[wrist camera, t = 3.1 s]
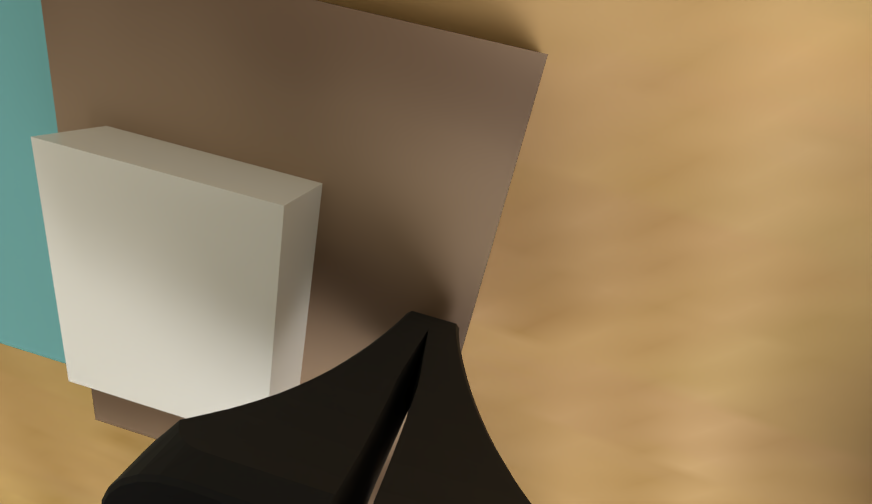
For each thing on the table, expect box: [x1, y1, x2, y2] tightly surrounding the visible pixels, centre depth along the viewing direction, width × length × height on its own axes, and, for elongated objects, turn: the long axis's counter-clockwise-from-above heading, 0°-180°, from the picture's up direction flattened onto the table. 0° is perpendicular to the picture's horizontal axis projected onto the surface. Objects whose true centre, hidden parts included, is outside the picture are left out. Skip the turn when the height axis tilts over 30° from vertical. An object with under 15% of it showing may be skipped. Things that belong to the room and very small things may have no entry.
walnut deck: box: [41, 0, 548, 504], centre depth 14 cm, size 15×12×2 cm
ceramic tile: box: [31, 126, 323, 418], centre depth 12 cm, size 7×6×2 cm
